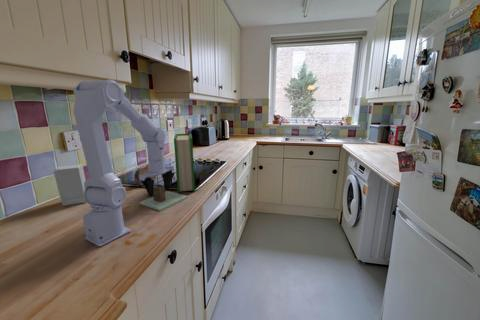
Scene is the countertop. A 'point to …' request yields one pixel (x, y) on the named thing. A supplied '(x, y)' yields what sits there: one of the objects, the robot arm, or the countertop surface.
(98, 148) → the robot arm
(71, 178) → the skincare box
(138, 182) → the tin
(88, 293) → the countertop surface
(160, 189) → the walnut block
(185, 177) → the hardback book
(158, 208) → the tray
